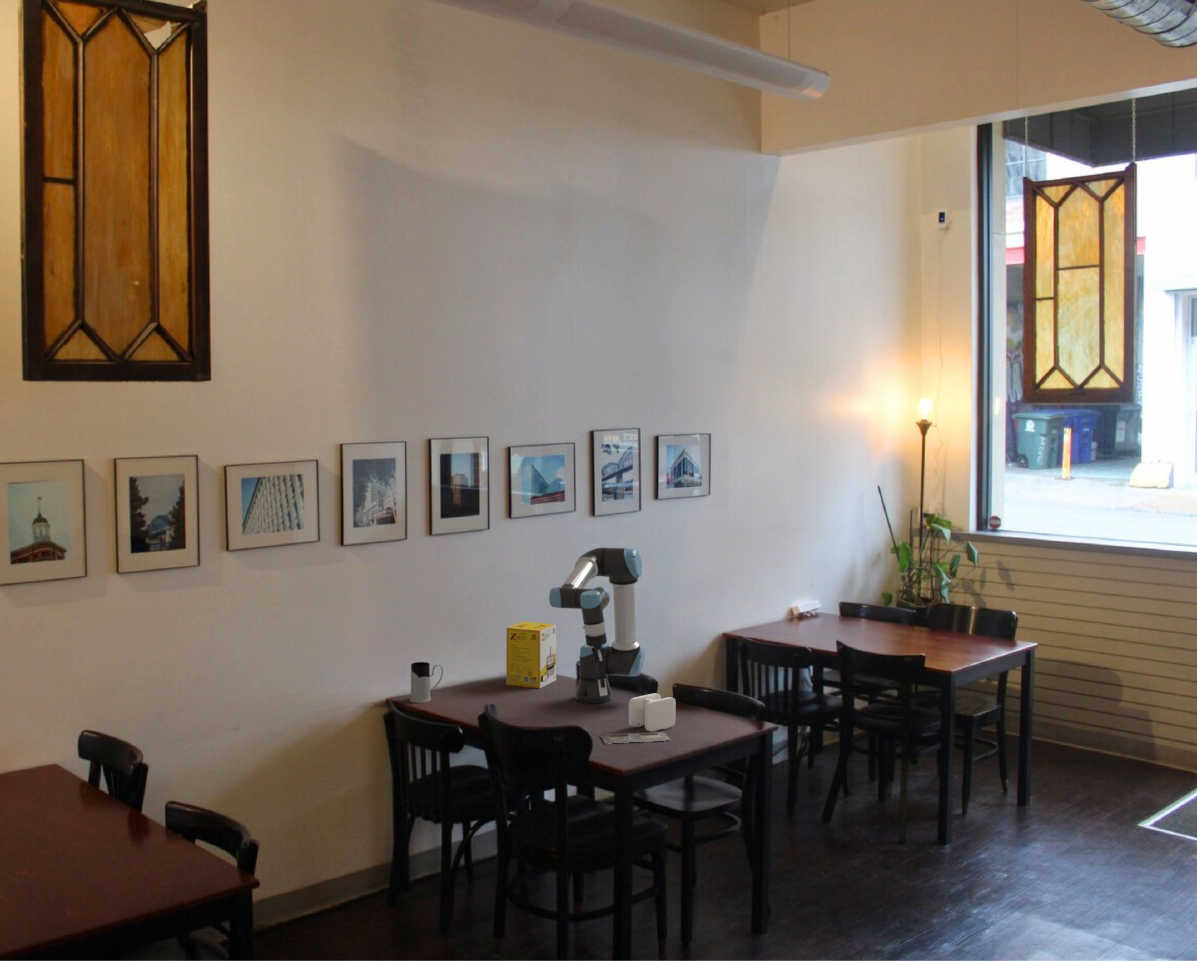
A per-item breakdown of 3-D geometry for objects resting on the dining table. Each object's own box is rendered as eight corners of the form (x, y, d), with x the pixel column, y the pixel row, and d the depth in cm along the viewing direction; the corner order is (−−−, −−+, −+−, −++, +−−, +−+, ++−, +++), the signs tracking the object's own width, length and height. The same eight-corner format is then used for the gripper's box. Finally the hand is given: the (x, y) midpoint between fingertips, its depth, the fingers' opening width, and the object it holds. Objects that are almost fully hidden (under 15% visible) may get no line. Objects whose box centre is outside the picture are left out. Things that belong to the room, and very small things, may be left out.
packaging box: (523, 676, 508) (523, 621, 506) (556, 680, 502) (556, 624, 500) (506, 684, 493) (506, 627, 491) (539, 688, 487) (539, 630, 485)
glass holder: (406, 699, 469) (406, 663, 468) (438, 694, 476) (438, 659, 475) (414, 703, 461) (414, 667, 460) (447, 699, 468) (446, 663, 467)
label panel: (600, 736, 416) (600, 733, 416) (663, 733, 421) (663, 730, 421) (605, 744, 407) (605, 741, 407) (670, 741, 411) (670, 738, 411)
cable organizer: (645, 734, 420) (646, 703, 419) (627, 728, 428) (627, 697, 427) (675, 727, 429) (676, 697, 428) (657, 721, 437) (657, 691, 436)
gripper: (582, 630, 417) (591, 690, 421) (587, 640, 404) (596, 702, 408) (602, 626, 418) (611, 687, 422) (608, 636, 405) (616, 699, 409)
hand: (603, 694), depth 415 cm, fingers closed
